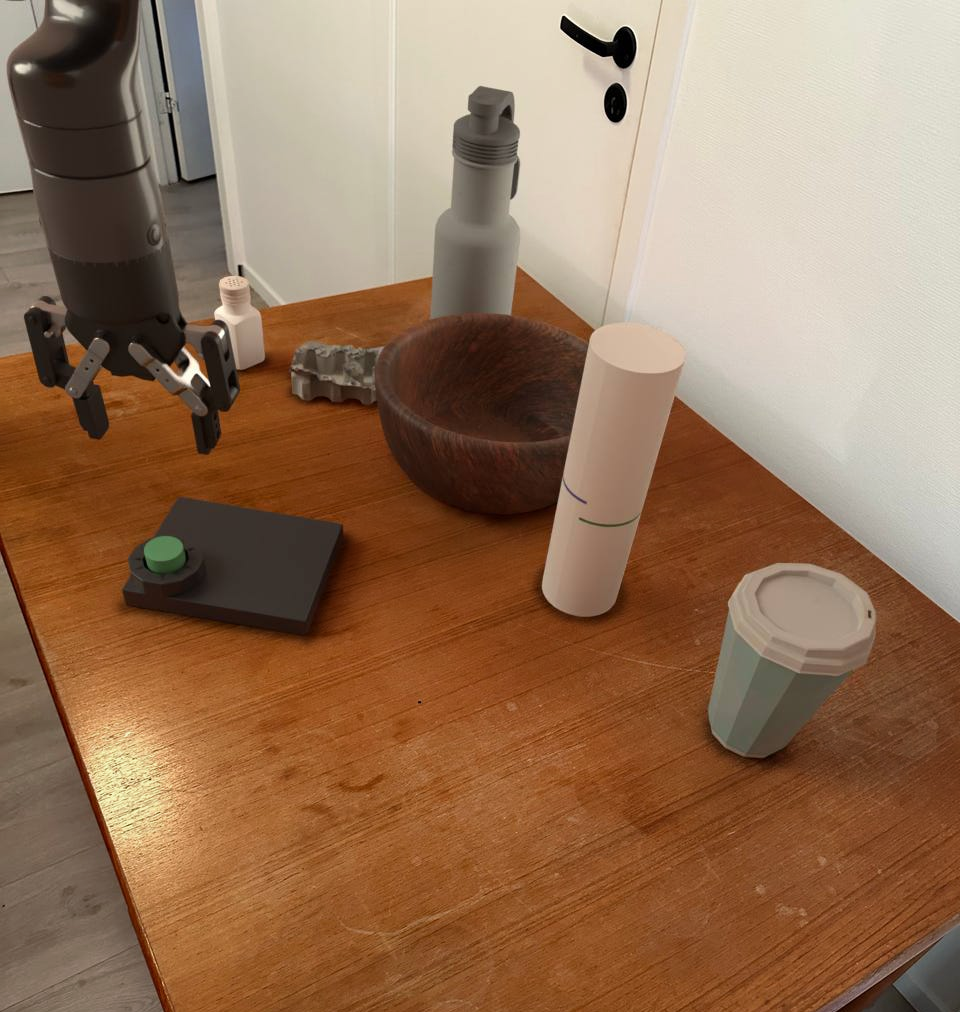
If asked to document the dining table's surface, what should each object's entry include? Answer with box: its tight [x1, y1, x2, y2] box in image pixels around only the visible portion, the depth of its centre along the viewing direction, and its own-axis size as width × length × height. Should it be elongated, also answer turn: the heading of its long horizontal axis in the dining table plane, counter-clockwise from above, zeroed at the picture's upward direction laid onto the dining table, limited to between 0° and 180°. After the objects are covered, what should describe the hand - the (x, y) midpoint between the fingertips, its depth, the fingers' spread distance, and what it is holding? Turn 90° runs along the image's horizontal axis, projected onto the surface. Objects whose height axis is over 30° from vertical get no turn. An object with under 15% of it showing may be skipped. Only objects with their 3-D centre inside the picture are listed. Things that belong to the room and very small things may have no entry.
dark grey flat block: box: [121, 496, 344, 637], centre depth 81 cm, size 16×13×4 cm
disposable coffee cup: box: [707, 562, 877, 759], centre depth 70 cm, size 11×11×15 cm
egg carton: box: [289, 340, 385, 406], centre depth 102 cm, size 11×8×4 cm
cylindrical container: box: [541, 321, 687, 618], centre depth 75 cm, size 7×7×25 cm
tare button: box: [144, 536, 186, 574], centre depth 77 cm, size 3×3×2 cm
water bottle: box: [429, 85, 521, 320], centre depth 102 cm, size 10×10×28 cm
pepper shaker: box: [213, 275, 266, 371], centre depth 102 cm, size 4×4×10 cm
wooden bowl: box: [374, 313, 589, 515], centre depth 93 cm, size 25×25×10 cm
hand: (153, 441), depth 70 cm, fingers open, 8 cm apart
